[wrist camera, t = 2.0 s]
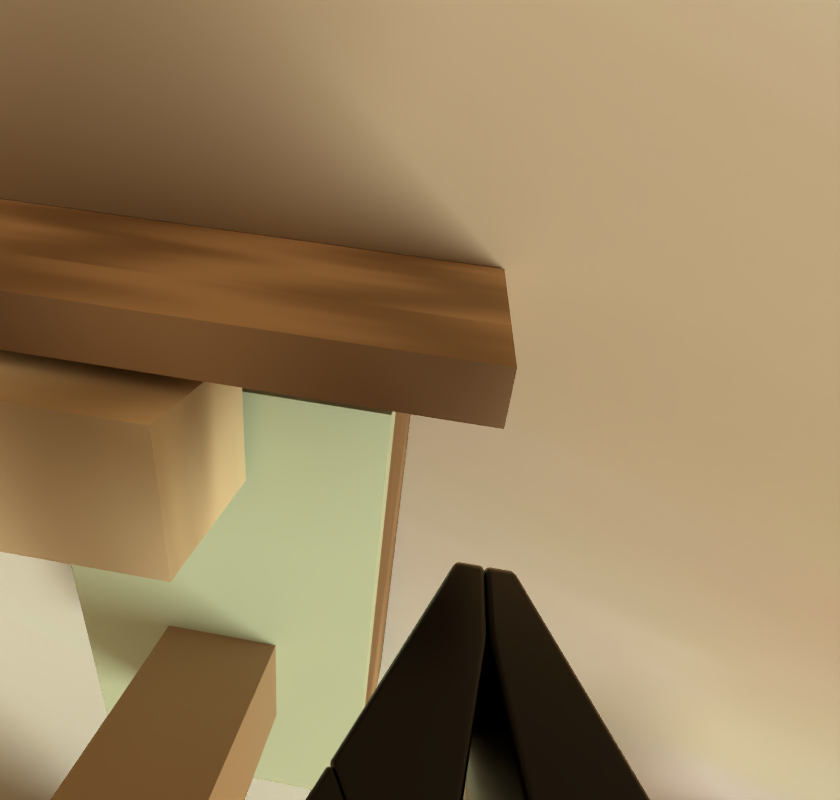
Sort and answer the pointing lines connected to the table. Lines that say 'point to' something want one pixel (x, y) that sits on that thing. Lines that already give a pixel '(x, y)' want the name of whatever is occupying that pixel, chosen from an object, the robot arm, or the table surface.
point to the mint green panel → (247, 620)
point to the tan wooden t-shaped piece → (263, 322)
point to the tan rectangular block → (113, 463)
